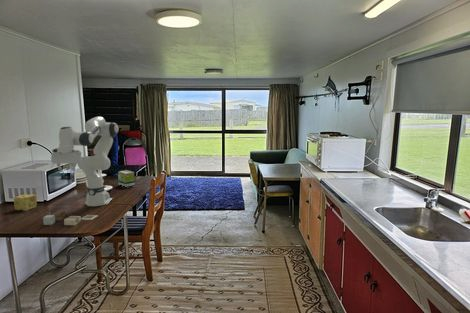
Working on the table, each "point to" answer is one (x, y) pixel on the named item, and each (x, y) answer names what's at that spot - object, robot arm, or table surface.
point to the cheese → (25, 202)
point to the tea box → (126, 178)
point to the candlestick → (103, 180)
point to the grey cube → (49, 219)
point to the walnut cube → (59, 215)
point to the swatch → (89, 217)
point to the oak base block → (72, 220)
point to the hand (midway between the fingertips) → (66, 170)
